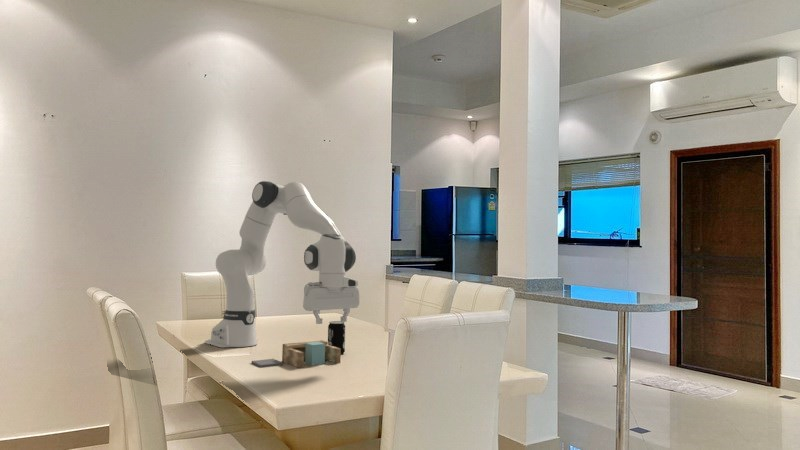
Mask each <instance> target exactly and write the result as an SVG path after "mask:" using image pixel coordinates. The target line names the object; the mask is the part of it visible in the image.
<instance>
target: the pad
mask: <svg viewBox="0 0 800 450" xmlns="http://www.w3.org/2000/svg"><path fill="white" fill-rule="evenodd" d="M251 364H252V365H255V366H257V367H259V368H266V367H268V368H269V367H276V366H283V365H284V361H280V360H278V359H275V358H267V359H266V358H265V359H259V360H257V359H256V360H252V361H251Z"/></svg>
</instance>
